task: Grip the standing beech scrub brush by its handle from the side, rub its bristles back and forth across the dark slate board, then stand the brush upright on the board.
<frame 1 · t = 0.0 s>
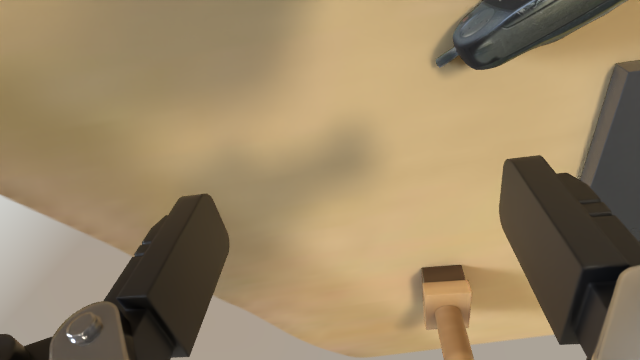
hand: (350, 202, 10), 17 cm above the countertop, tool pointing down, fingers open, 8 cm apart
brush: (440, 283, 40), on the countertop
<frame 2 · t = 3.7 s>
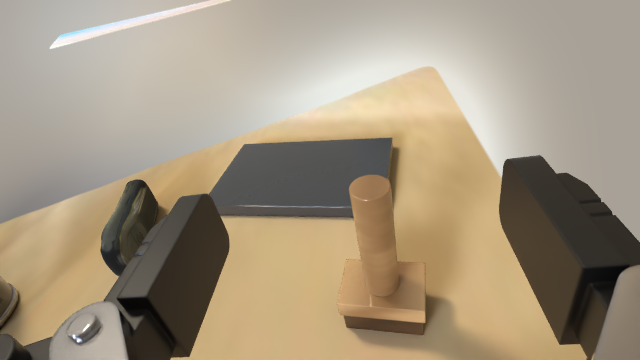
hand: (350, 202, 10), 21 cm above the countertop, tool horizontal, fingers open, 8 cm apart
brush: (385, 309, 30), on the countertop
slate board: (303, 179, 48), on the countertop
dark green rounded bar: (142, 244, 43), on the countertop
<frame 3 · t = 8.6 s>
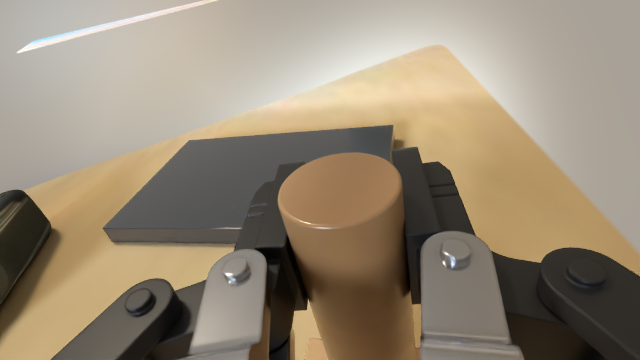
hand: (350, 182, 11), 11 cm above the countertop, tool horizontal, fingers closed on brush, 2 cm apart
slate board: (263, 186, 32), on the countertop
dark green rounded bar: (6, 290, 28), on the countertop
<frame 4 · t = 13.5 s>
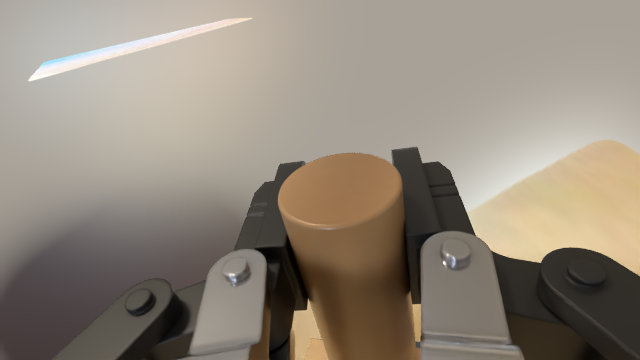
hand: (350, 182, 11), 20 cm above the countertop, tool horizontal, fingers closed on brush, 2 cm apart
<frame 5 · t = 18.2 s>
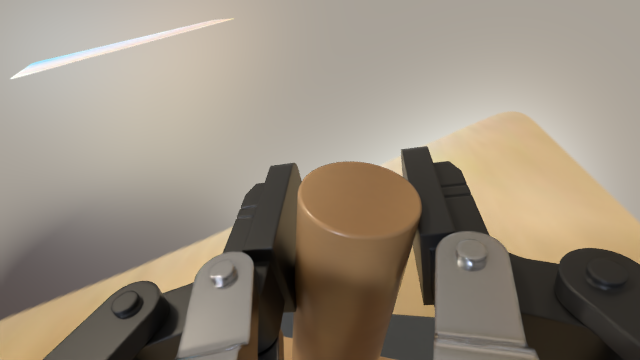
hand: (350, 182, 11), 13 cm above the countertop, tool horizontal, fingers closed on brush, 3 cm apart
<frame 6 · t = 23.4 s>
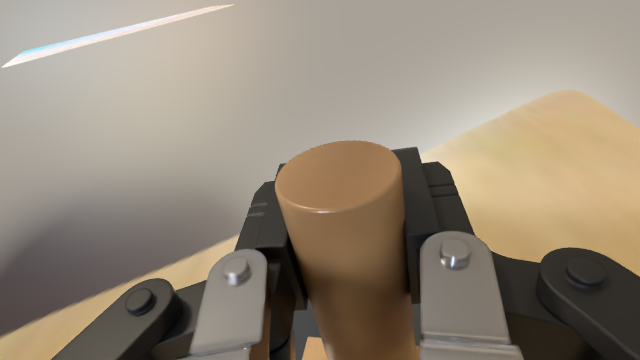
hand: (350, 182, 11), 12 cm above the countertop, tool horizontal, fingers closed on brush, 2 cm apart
when the fingers open (12 cm above the countertop, at t = 27.9 s): brush stays where it is, resting on slate board.
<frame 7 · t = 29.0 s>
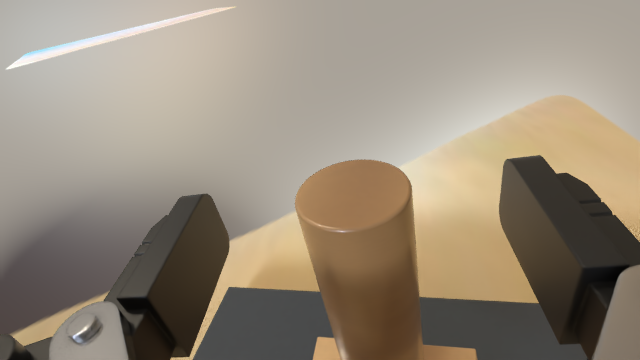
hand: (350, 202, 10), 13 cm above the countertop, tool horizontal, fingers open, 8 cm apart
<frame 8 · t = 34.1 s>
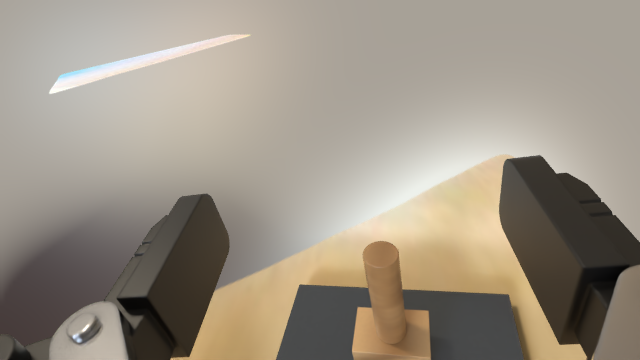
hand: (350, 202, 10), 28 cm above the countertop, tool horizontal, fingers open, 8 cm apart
brush: (394, 352, 34), point 1 cm above the countertop, touching slate board
slate board: (393, 359, 35), on the countertop
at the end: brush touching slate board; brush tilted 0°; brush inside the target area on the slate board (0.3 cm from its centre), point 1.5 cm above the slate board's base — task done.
